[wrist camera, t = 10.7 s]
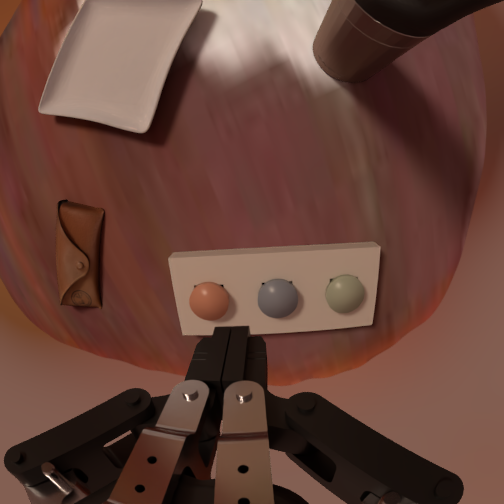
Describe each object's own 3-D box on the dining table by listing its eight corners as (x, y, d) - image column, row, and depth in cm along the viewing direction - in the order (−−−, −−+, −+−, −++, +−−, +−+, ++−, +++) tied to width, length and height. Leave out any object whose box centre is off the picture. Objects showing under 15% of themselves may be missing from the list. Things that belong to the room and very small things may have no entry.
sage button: (340, 260, 38) (347, 270, 35) (363, 282, 39) (371, 293, 36) (314, 286, 40) (318, 298, 36) (337, 306, 41) (344, 320, 37)
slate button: (275, 263, 39) (276, 274, 35) (302, 286, 40) (306, 299, 36) (250, 289, 40) (249, 302, 37) (277, 311, 41) (278, 325, 38)
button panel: (373, 241, 38) (380, 246, 35) (367, 316, 41) (372, 324, 39) (173, 252, 39) (168, 258, 37) (186, 326, 43) (182, 335, 40)
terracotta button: (210, 267, 39) (204, 277, 36) (238, 290, 40) (236, 302, 37) (188, 291, 41) (181, 304, 37) (216, 313, 42) (212, 327, 38)
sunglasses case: (104, 312, 43) (71, 323, 37) (86, 294, 46) (55, 302, 41) (105, 205, 37) (65, 209, 32) (87, 197, 41) (51, 199, 35)
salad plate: (209, 6, 28) (205, -5, 25) (155, 137, 35) (145, 135, 32) (95, 2, 27) (85, -5, 24) (49, 115, 33) (36, 113, 30)
